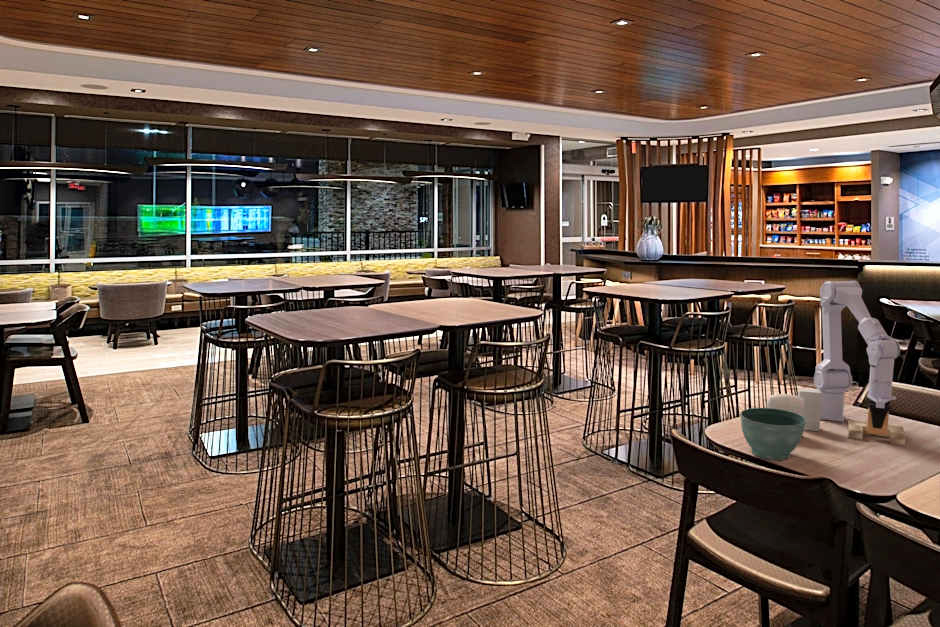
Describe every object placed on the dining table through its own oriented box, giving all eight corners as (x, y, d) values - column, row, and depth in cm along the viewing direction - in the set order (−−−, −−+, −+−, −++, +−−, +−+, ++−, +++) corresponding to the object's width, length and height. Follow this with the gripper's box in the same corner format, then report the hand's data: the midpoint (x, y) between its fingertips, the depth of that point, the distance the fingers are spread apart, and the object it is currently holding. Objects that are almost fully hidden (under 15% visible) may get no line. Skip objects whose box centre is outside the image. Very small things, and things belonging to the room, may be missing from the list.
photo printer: (801, 434, 205) (804, 393, 204) (803, 438, 201) (806, 397, 200) (763, 431, 208) (766, 391, 207) (765, 435, 204) (767, 394, 203)
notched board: (848, 438, 202) (849, 429, 201) (848, 427, 211) (848, 419, 211) (904, 445, 195) (905, 436, 195) (901, 434, 205) (902, 426, 205)
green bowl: (803, 468, 178) (806, 428, 176) (736, 459, 184) (738, 420, 183) (802, 449, 192) (805, 411, 191) (740, 441, 199) (742, 405, 197)
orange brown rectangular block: (866, 432, 201) (868, 409, 200) (866, 430, 203) (868, 407, 202) (886, 435, 198) (888, 411, 197) (886, 432, 201) (888, 409, 200)
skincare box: (817, 427, 212) (820, 389, 210) (819, 431, 208) (822, 392, 206) (795, 425, 214) (798, 387, 212) (797, 429, 210) (799, 391, 208)
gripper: (898, 387, 190) (894, 435, 192) (895, 376, 203) (891, 421, 205) (869, 384, 194) (865, 431, 196) (867, 374, 206) (864, 418, 208)
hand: (876, 426), depth 201 cm, fingers closed on orange brown rectangular block, 3 cm apart
